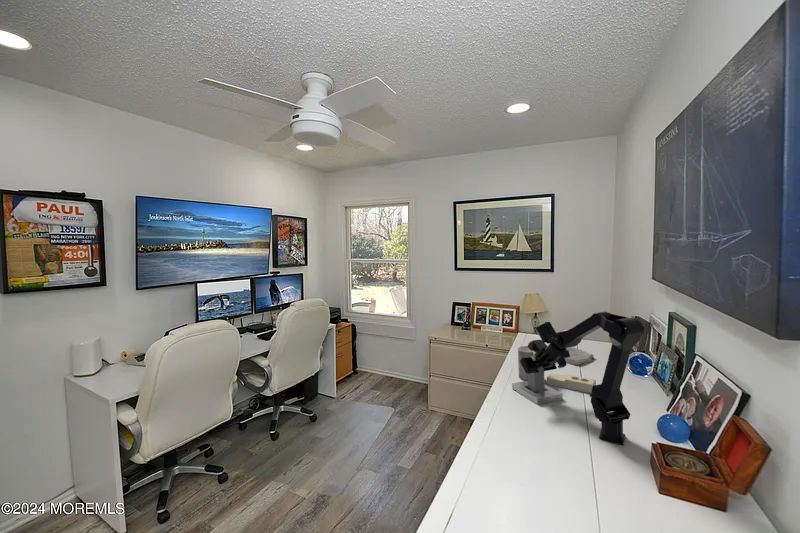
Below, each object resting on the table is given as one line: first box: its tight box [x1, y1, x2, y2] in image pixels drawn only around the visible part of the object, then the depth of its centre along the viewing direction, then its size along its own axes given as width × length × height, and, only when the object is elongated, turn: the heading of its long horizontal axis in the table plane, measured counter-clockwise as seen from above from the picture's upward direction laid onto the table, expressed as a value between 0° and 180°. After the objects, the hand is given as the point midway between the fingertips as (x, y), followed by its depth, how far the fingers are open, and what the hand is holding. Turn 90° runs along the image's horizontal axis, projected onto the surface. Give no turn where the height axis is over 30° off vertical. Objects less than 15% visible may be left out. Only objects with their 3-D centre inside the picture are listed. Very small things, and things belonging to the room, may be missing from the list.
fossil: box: [564, 347, 597, 366], centre depth 180 cm, size 20×5×17 cm
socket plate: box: [511, 380, 564, 406], centre depth 138 cm, size 16×12×2 cm
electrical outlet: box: [546, 372, 597, 394], centre depth 144 cm, size 7×4×18 cm
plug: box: [528, 352, 546, 392], centre depth 138 cm, size 4×4×15 cm
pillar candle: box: [517, 345, 534, 381], centre depth 155 cm, size 10×10×15 cm
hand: (533, 371), depth 139 cm, fingers closed on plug, 4 cm apart
